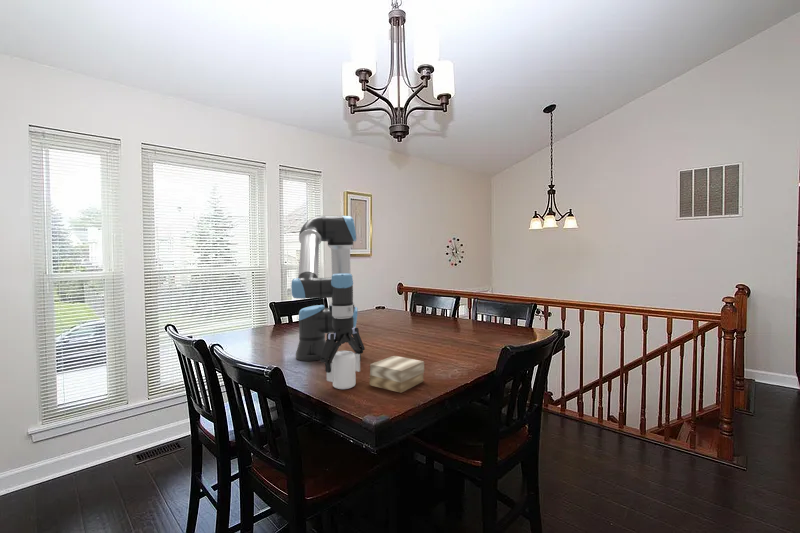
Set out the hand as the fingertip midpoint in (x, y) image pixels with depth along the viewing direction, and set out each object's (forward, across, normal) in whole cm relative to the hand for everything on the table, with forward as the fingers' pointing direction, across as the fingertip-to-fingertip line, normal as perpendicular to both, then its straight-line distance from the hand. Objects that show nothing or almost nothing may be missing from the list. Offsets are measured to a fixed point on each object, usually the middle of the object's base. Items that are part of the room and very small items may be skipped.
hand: (344, 375), depth 138 cm
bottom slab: (+4, +13, -14) cm, 19 cm away
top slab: (0, +13, -14) cm, 19 cm away
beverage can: (+4, 0, 0) cm, 4 cm away
